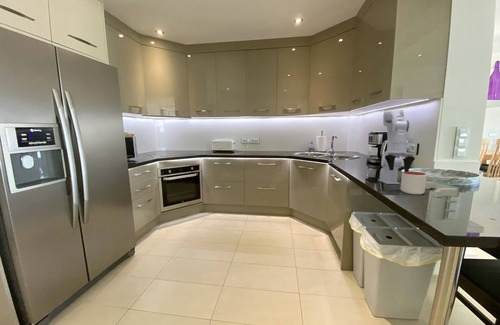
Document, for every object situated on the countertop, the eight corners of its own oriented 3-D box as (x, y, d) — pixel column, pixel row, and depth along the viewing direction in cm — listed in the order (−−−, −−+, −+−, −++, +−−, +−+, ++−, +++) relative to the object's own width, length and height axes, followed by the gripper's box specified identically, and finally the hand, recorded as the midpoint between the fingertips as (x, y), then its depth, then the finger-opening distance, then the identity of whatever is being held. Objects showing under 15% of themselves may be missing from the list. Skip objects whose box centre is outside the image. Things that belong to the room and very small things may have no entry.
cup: (429, 195, 106) (432, 175, 105) (409, 195, 106) (411, 175, 105) (414, 189, 116) (416, 171, 114) (395, 189, 116) (397, 171, 115)
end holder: (415, 188, 118) (416, 180, 118) (433, 188, 118) (434, 180, 117) (437, 196, 104) (438, 187, 103) (458, 196, 104) (459, 187, 103)
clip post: (432, 196, 104) (433, 190, 104) (437, 196, 104) (438, 190, 104) (436, 197, 102) (437, 191, 102) (441, 197, 102) (442, 191, 102)
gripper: (390, 141, 106) (389, 169, 105) (420, 144, 106) (419, 171, 105) (381, 143, 113) (380, 169, 112) (409, 146, 113) (408, 172, 112)
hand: (398, 170), depth 109 cm, fingers open, 7 cm apart
